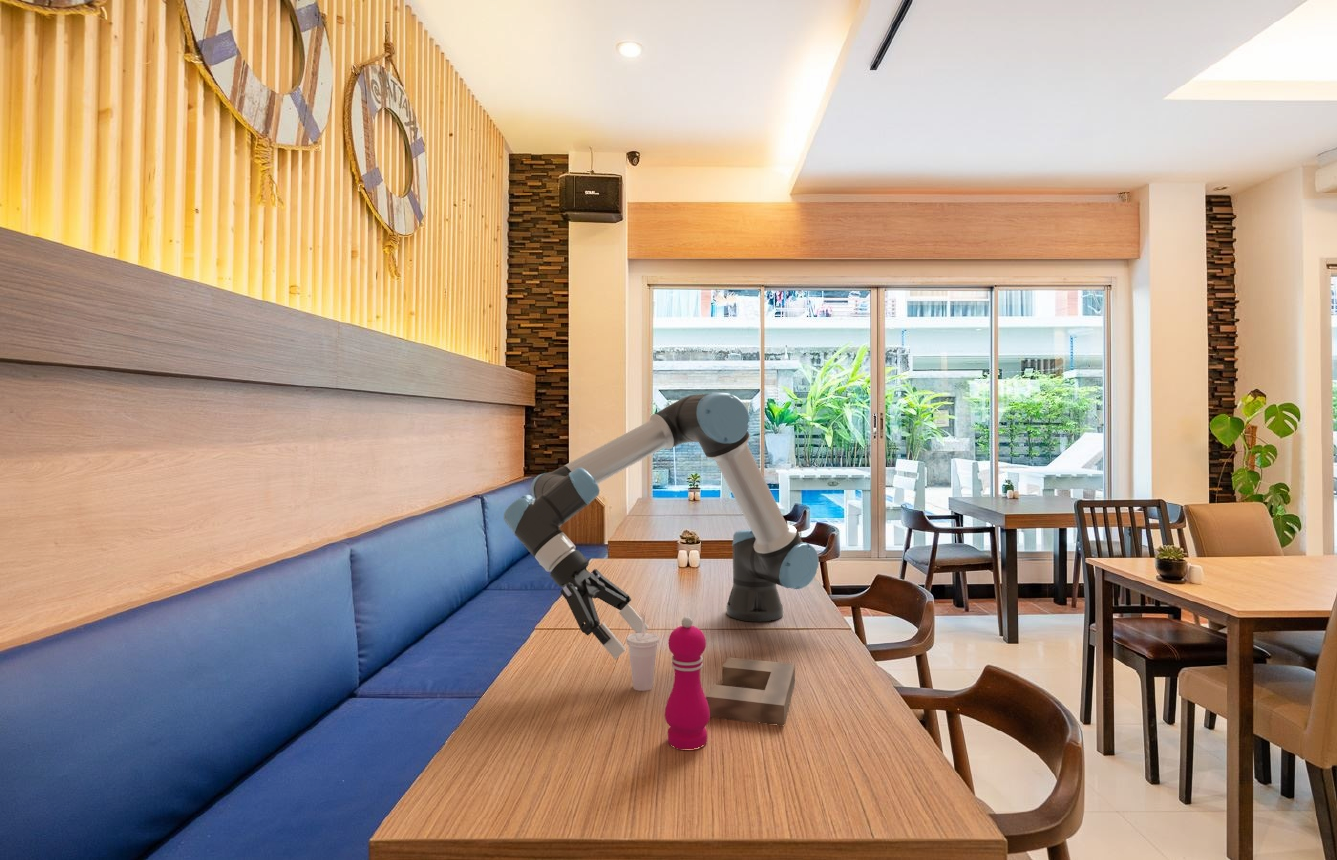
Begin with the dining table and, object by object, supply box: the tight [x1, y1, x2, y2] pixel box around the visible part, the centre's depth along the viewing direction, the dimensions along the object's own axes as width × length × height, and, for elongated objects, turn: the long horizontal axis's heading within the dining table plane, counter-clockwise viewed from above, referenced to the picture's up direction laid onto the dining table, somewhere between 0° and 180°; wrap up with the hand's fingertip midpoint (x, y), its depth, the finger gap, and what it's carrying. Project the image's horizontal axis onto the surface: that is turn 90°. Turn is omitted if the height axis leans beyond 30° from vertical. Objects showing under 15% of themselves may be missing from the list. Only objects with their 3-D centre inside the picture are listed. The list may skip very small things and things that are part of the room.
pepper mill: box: [664, 616, 711, 750], centre depth 102 cm, size 7×7×20 cm
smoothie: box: [626, 613, 660, 692], centre depth 124 cm, size 6×6×14 cm
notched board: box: [705, 656, 796, 726], centre depth 119 cm, size 14×20×4 cm
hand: (633, 643), depth 124 cm, fingers open, 13 cm apart
